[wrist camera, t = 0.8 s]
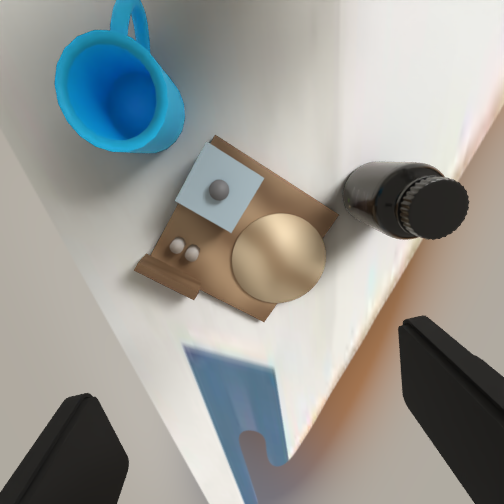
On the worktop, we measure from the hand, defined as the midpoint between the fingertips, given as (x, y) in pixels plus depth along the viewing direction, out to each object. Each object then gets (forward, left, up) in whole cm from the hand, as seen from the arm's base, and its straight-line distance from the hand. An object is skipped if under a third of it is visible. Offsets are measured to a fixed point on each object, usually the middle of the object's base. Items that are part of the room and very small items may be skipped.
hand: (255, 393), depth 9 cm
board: (+2, +1, -26) cm, 26 cm away
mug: (-6, -15, -26) cm, 31 cm away
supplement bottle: (-10, +11, -26) cm, 30 cm away
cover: (-2, -4, -24) cm, 25 cm away
